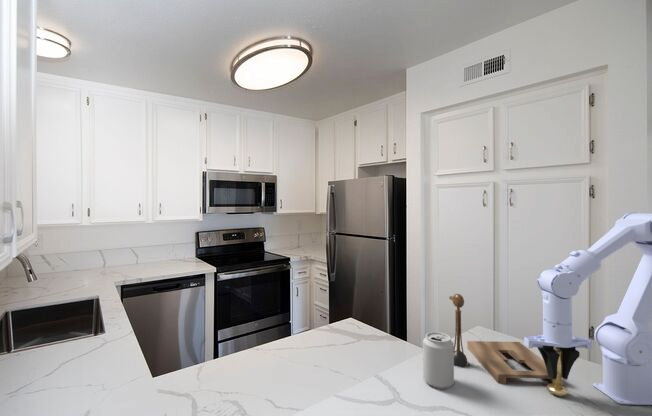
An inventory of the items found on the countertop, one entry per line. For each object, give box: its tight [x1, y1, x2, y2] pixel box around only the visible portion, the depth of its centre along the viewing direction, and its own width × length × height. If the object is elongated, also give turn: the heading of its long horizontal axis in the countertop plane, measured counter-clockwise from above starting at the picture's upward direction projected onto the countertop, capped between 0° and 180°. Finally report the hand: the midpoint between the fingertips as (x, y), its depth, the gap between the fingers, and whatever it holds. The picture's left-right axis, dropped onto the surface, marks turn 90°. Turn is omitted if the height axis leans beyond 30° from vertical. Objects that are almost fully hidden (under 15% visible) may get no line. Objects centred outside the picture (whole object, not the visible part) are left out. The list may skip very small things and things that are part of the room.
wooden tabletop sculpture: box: [448, 293, 468, 368], centre depth 92 cm, size 6×5×20 cm
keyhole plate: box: [466, 340, 553, 384], centre depth 91 cm, size 16×20×2 cm
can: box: [422, 331, 455, 389], centre depth 82 cm, size 8×8×12 cm
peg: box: [547, 347, 569, 397], centre depth 77 cm, size 4×4×10 cm
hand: (557, 377), depth 77 cm, fingers closed on peg, 2 cm apart
